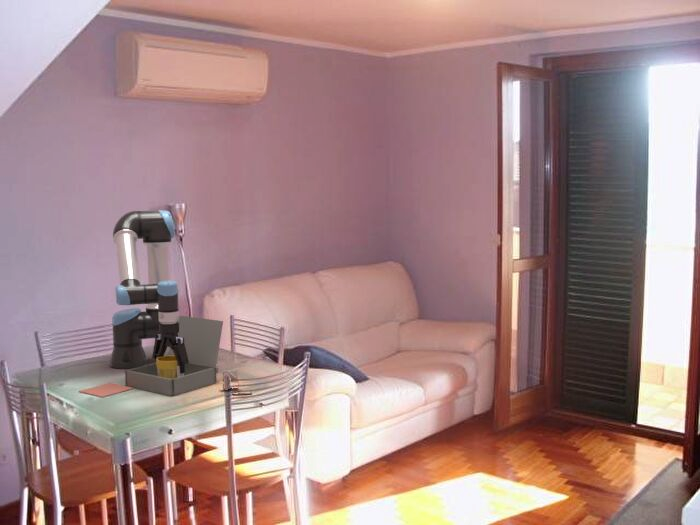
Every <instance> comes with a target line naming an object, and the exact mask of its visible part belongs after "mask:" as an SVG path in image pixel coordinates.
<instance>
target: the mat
mask: <svg viewBox="0 0 700 525" xmlns="http://www.w3.org/2000/svg"><path fill="white" fill-rule="evenodd" d="M134 389H135V388H132V387H127V386H126V385H122V384H117V383H114V382H107V383H104V384H101V385H100V384H99V385H96V386H93V387H88V388H86V389H85V388H84V389H81V390H78V393H81V394H86V395H90V396H95V397H99V398H102V399H103V398H105V397H109V396H115V395H117V394H121V393H124V392H128V391H132V390H134Z"/></svg>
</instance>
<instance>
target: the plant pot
mask: <svg viewBox="0 0 700 525" xmlns="http://www.w3.org/2000/svg"><path fill="white" fill-rule="evenodd" d="M155 363H156V366H157V368H158V369H159V373H160V377H164V378H169V379H174V378H177V365H178V362H177V359H176V357H175V355H169V354H168V355H164V356H161V357H158V358H157V359H156V360H155Z"/></svg>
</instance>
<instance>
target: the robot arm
mask: <svg viewBox="0 0 700 525" xmlns="http://www.w3.org/2000/svg"><path fill="white" fill-rule="evenodd" d="M175 236H176V235H175V226H174V220H173V216H172V214H171V212H170V211H169V210H161V209H159V210H158V209H157V210H132V211H129V212H127V213H125V214H123V215H121V217H120V218H119V219H118V221H117V222H116V224H115V225H114V227H113V231H112V239H113V242H114V244H115V245H116V255H117V267H118V275H119V276H118V277H119V278H118V279H119V285H118V286H115V302H116V304H117V305H118V306H134V305H145V304H146V306H145V311H142V310H141V308H139V307H136V308H135V307H134V308H128V309H122V310H119V311H117V312H115V313H114V314H112V323H111V326H112V339H113V340H112V342H113V344H112V346H113V348H112V351H111V357H110V359H109V367H110V368H113V369H124V370H125V369H133V368H137V367H141V366H145V365H148V357H147V355H146V353H145V350H144V347H143V340H145V339H146V340H148V339H154V345H153V350H152V355H151V357H152V359H153V360H155V361H156V359H157V358H158V357H161V356H165V353H166V351H167V349H168V348H169V349H170V348H171V349H172V350H173V352H174V355H175V357H176V359H177V362H178V365H177V378H178V377H181V376H184V373H185V364H187V363H189V360H188V356H187V352H186V348H185V344H184V337H182V338H179V337H178V332H179V322H177V321H179V316H180V311H179V288H178V282H177V281H175V280H170V275H169V274H170V273H169V272H170V270H169V269H170V268H169V245H170V244H171V243H172V239H173V238H175ZM140 239H142V244H144V245H145V246H146V254H147V256H146V258H147V260H146V261H147V279H148V284H147V283H146V284H141V280H140V270H139V263H138V262H139V261H138V254H137V252H138V250H137V244H136V243H137V241H138V240H140ZM175 345H176V346H175ZM157 369H158V368H157ZM158 376H159V377H160V373H159V369H158Z"/></svg>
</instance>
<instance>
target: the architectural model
mask: <svg viewBox="0 0 700 525" xmlns="http://www.w3.org/2000/svg"><path fill="white" fill-rule="evenodd" d="M224 373H228V374H229V376H230V378H231V383H238V384H239V377H238V369H230V370H222V373H221V374H222V380H218V383H219V385H222V390H225V389H224ZM239 388H240V387H238V389H239ZM233 389H234V388H233ZM238 389H237V390H238ZM234 390H236V388H235V389H234ZM231 394H232V395H231V396H234V395H250V394H251V395H252V391H251V392H250V393H238V394H233V393H231Z"/></svg>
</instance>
